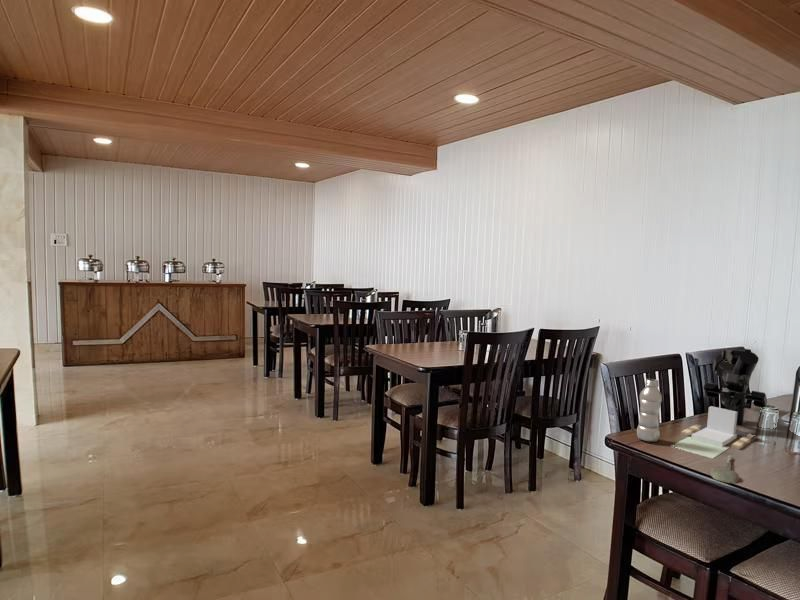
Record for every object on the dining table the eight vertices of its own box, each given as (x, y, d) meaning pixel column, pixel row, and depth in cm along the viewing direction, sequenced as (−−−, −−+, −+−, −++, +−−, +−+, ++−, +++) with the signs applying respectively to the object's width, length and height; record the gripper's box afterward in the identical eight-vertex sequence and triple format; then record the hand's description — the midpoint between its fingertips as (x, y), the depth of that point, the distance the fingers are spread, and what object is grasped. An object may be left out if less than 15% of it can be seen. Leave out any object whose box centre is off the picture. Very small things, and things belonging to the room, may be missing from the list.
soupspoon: (707, 481, 137) (736, 490, 133) (709, 470, 137) (738, 478, 133) (718, 457, 154) (744, 464, 150) (720, 446, 154) (746, 453, 150)
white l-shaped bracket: (707, 430, 180) (709, 405, 179) (736, 438, 173) (739, 412, 172) (691, 438, 169) (693, 412, 168) (721, 446, 162) (724, 419, 162)
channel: (695, 427, 183) (695, 424, 183) (751, 441, 170) (751, 437, 170) (680, 434, 173) (681, 431, 173) (738, 450, 161) (739, 446, 161)
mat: (688, 437, 171) (688, 436, 171) (729, 447, 162) (729, 447, 162) (670, 447, 161) (670, 446, 161) (712, 459, 152) (712, 458, 152)
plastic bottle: (662, 444, 162) (668, 383, 161) (641, 443, 163) (646, 381, 161) (653, 437, 169) (658, 378, 167) (632, 436, 169) (637, 377, 168)
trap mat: (705, 423, 189) (705, 422, 189) (756, 435, 177) (756, 434, 177) (699, 426, 184) (699, 425, 184) (751, 439, 172) (751, 438, 172)
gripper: (707, 360, 188) (694, 394, 181) (768, 370, 174) (756, 406, 168) (712, 379, 194) (700, 412, 187) (771, 389, 180) (760, 425, 174)
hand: (727, 413), depth 179 cm, fingers closed
